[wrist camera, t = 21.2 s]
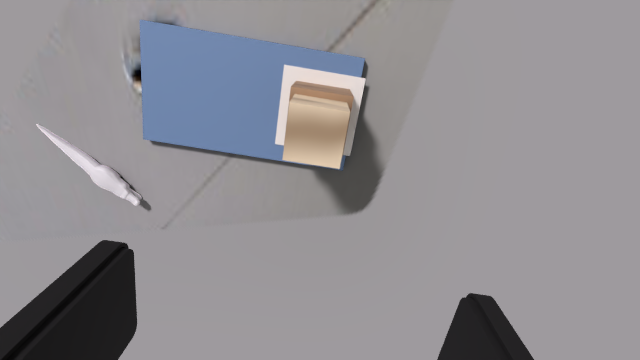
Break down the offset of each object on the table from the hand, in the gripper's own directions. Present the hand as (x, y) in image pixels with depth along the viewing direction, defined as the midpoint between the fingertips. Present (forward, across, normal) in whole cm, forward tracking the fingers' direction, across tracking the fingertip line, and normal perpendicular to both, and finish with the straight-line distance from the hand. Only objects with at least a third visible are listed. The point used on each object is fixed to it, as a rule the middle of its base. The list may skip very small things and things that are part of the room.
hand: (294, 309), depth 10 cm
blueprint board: (+32, +8, 0) cm, 33 cm away
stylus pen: (+33, +27, +11) cm, 44 cm away
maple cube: (+25, 0, 0) cm, 25 cm away
